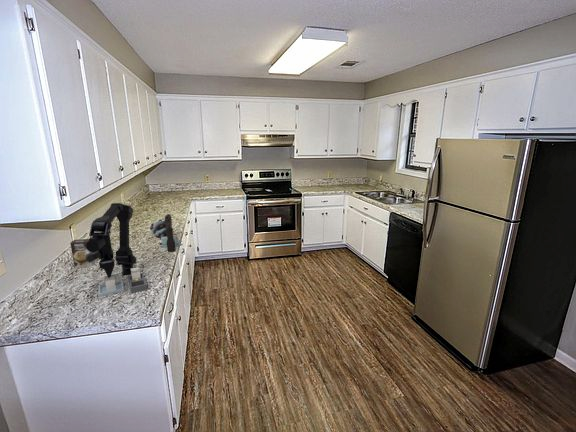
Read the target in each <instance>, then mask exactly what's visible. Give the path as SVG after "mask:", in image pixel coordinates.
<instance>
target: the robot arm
mask: <svg viewBox="0 0 576 432" xmlns="http://www.w3.org/2000/svg"><path fill="white" fill-rule="evenodd" d="M133 213H134V209H133V207H132V206H131V205H127V204H124V203H122V202H112V203H111V204H110V206H109V208H107V210H106V211H105V212H104V213H103V215H102V216H100V217H98V218H97V217H96V218H95V219H94V220H93V221H92V222H91V224H90V229H89V235H88V236H89V238H88V239H89V241H88V242H87V243H86V248H87V250H88V251H90V252H91V253H89V254H87V255H86V256H85V258H86V259H87V261H88V262H89V263H91V262H92V261H94V262H95V261H96V260H100V261H99V262H98V265H99V269H102V270H104V272H105V274H106V276H108V278H110V277H111V275H113V271H114V268H115V267H116V265H117V266H121V269H122V270H121V276H122V277H125V276H129V275H131V268H134V265H135V264H137V257H136V256H135V254H133V250H132V249H131V247H130V221H131V219H132V218H133ZM115 218H116V219H117V221H118V222H119V223H118V224H119V226H118V227H119V233H118V234H119V235H118V236H119V238H118V239H119V247H118V249H117V250H116V251H115V256H114V249H113V248H112V246H113V245H112V242H111V234H112V231H111V229H112V227H113V223H112V222H113V221H114V220H115ZM114 257H115V259H114ZM115 262H116V263H115Z"/></svg>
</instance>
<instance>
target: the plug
mask: <svg viewBox="0 0 576 432" xmlns="http://www.w3.org/2000/svg"><path fill="white" fill-rule="evenodd" d="M115 280H116V279H115V274H112V275H111V277H110V278H108V276H107V275H104V282H105V283H104V284H106V289H107V292H108V291H113V290H116V285H115V282H116V281H115Z"/></svg>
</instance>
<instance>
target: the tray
mask: <svg viewBox="0 0 576 432" xmlns="http://www.w3.org/2000/svg"><path fill="white" fill-rule="evenodd" d="M115 285H116V290H113V291H108V292H107V289H106V283H102V284H98V285H97V286H98V289H97V290H98V297H99V298H100V297H101V298H102V297H105V296H109V295H114V294H119V293H123V292H125V289H124V287H125V286H124V282H123V279H122V280H118V281H115Z"/></svg>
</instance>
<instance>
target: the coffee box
mask: <svg viewBox="0 0 576 432" xmlns="http://www.w3.org/2000/svg"><path fill="white" fill-rule="evenodd" d="M88 241H89V238H83V239H82V238H81V239H73V240H72V241H71V242H70V243H69V244H70V248H71V255H72V261H73V267H74V269H80V268H90V267H91V268H92V266H93V265H94V264H95V260H94V261H92V262H91V263H89V262H88V261H87V259H86V258H85V256H86V255H87V254H89V253H91V252H90V251H88V250H87V248H86V243H87V242H88Z"/></svg>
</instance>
